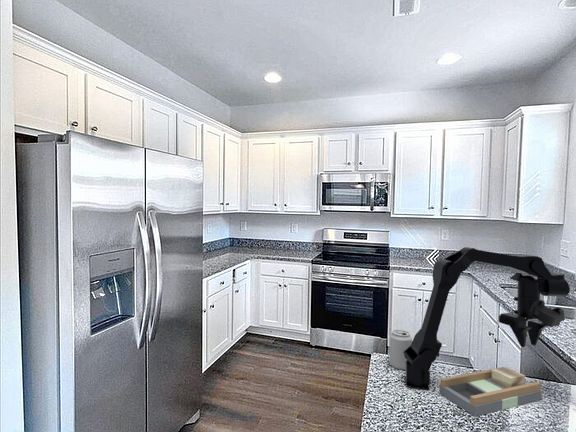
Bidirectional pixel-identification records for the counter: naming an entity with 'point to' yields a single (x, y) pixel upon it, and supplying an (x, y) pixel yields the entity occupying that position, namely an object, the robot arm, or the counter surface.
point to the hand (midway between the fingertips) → (528, 345)
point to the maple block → (507, 377)
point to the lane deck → (486, 393)
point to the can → (399, 348)
